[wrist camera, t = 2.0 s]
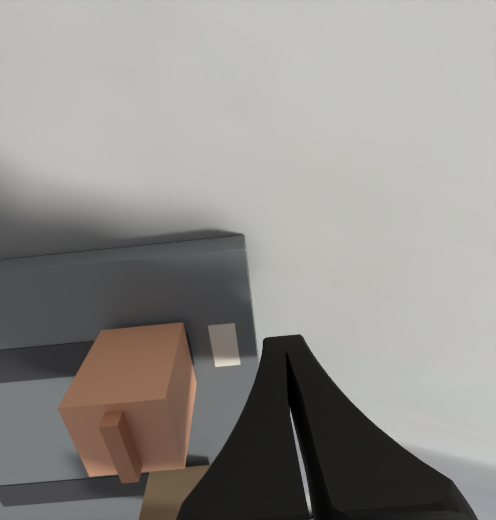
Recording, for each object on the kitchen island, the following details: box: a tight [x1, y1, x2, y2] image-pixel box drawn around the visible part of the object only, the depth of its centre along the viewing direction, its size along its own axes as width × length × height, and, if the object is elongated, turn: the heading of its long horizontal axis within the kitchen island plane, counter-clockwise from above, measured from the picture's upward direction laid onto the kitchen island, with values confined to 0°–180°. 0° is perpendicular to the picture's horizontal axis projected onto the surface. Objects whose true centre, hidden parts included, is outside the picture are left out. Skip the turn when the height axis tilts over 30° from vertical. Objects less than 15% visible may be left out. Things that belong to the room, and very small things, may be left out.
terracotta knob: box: [57, 322, 197, 483], centre depth 12 cm, size 3×3×4 cm
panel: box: [0, 235, 259, 520], centre depth 16 cm, size 15×19×2 cm
